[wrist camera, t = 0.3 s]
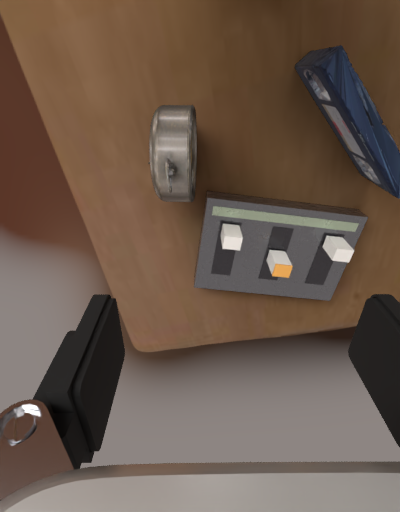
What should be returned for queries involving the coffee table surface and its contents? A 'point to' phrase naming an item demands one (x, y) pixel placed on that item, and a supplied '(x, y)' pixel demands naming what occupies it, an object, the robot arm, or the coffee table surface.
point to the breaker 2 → (338, 249)
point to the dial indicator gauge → (174, 152)
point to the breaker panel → (273, 245)
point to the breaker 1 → (231, 237)
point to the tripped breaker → (279, 263)
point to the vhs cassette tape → (352, 115)
